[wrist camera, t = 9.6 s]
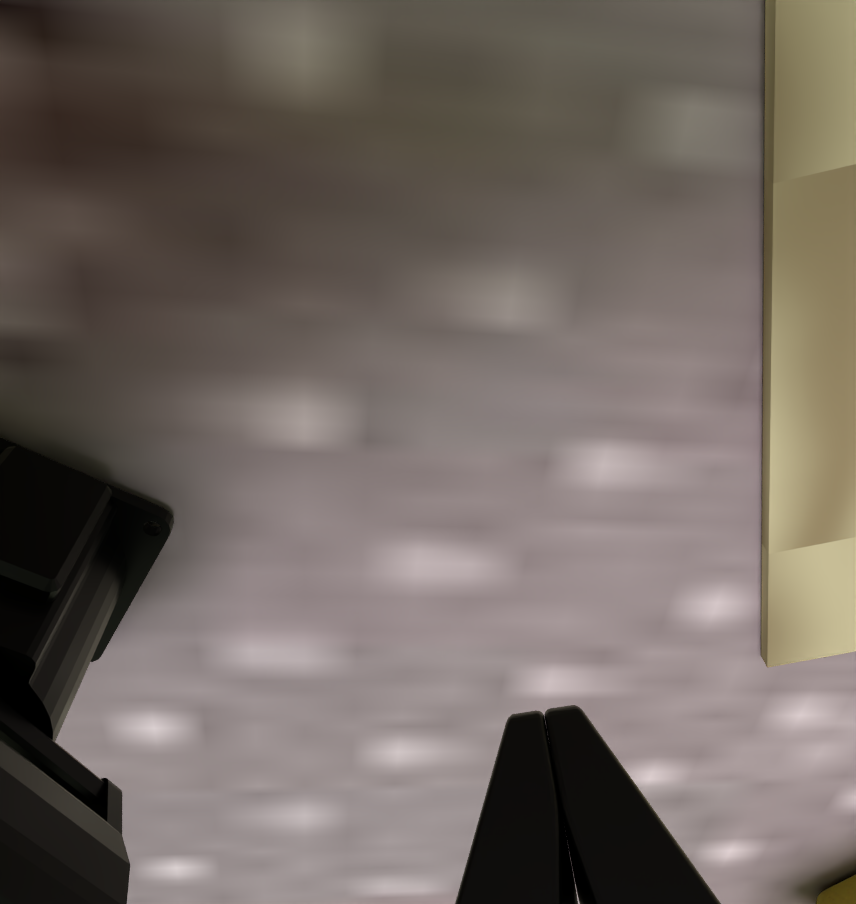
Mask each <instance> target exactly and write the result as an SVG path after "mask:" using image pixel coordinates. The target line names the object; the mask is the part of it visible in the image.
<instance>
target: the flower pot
mask: <svg viewBox="0 0 856 904" xmlns="http://www.w3.org/2000/svg"><path fill="white" fill-rule="evenodd" d="M816 904H856V875H854V876H852V877H850V878H848V879H846V880H844V881H842V882H840V883H838V884H836V885H834V886H832V887H830V888H828V889H826V890H824V891H823V892H821V893H820V894H819V895H818V897H817V901H816Z"/></svg>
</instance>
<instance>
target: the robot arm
mask: <svg viewBox="0 0 856 904" xmlns="http://www.w3.org/2000/svg"><path fill="white" fill-rule="evenodd" d="M150 521H152V522H156V523H157V524H159V525H160V527H153V526H151V525H150V524H148V522H150ZM173 524H174V520H173V516H172V515H171V514H170V513H169V511H167V510H165V509H164V508H162V507H160V506H157V505H155V504H153V503H150V502H148V501H146V500H144V499H141V498H139V497H137V496H134V495H132V494H130V493H127V492H125V491H123V490H120V489H118V488H116V487H114V486H111V485H109V484H107V483H104V482H102V481H100V480H97V479H95V478H93V477H90V476H88V475H86V474H84V473H81V472H79V471H77V470H74V469H72V468H70V467H67V466H65V465H63V464H60V463H58V462H56V461H53V460H51V459H49V458H47V457H44V456H42V455H40V454H37V453H35V452H33V451H30V450H28V449H26V448H23V447H21V446H19V445H17V444H14V443H12V442H10V441H7V440H5V439H3V438H0V904H127V893H128V882H129V871H130V862H129V859H128V855H127V852H126V848H125V845H124V841H123V837H122V791H121V790H120V789H119V788H118V787H117V786H115V785H114V784H113V783H112V782H111V781H109V780H108V779H107V778H102V779H100V778H99V777H97V776H96V775H95V774H94V773H92V772H91V771H90V770H89V769H88V768H86V767H85V766H84V765H83V764H81V763H80V762H79V761H78V760H77V759H75V758H74V757H73V756H72V755H70V754H69V753H68V752H67V751H65V750H64V749H63V748H62V747H61V746H59V745H58V744H57V743H56V742H55V741H56V738H57V736H58V734H59V732H60V729H61V727H62V725H63V722H64V720H65V718H66V716H67V713H68V711H69V709H70V707H71V704H72V702H73V700H74V698H75V695H76V693H77V691H78V689H79V686H80V684H81V682H82V679H83V677H84V675H85V673H86V670H87V668H88V666H89V664H90V662H93V661H96V660H98V659H99V658H100V657H101V655H102V654H103V652H104V650H105V648H106V647H107V645H108V643H109V641H110V639H111V638H112V636H113V634H114V632H115V631H116V629H117V627H118V625H119V624H120V622H121V620H122V618H123V616H124V615H125V613H126V611H127V609H128V608H129V606H130V604H131V602H132V601H133V599H134V597H135V595H136V594H137V592H138V590H139V588H140V586H141V585H142V583H143V581H144V579H145V578H146V576H147V574H148V572H149V571H150V569H151V567H152V565H153V564H154V562H155V560H156V558H157V556H158V555H159V553H160V551H161V549H162V548H163V546H164V544H165V542H166V541H167V539H168V537H169V535H170V533H171V530H172V528H173ZM545 721H546V723H545ZM546 727H547V729H546ZM547 733H548V734H547ZM548 738H549V739H548ZM550 749H551V750H550ZM565 831H566V832H565ZM566 836H567V837H566ZM567 842H568V843H567ZM568 847H569V848H568ZM569 852H570V854H569ZM570 858H571V859H570ZM571 863H572V865H571ZM572 868H573V870H572ZM573 873H574V876H573ZM574 879H575V881H574ZM575 884H576V887H575ZM576 888H577V893H578V898H579V903H580V904H721V903H720V902H719V900H718V899H717V898H716V896H715V895H714V893H713V892H712V891H711V889H710V888H709V886H708V885H707V884H706V882H705V881H704V879H703V878H702V877H701V875H700V874H699V872H698V871H697V870H696V868H695V867H694V865H693V864H692V863H691V861H690V860H689V858H688V857H687V856H686V854H685V853H684V851H683V850H682V849H681V847H680V846H679V845H678V843H677V842H676V840H675V839H674V838H673V836H672V835H671V833H670V832H669V831H668V829H667V828H666V826H665V825H664V824H663V822H662V821H661V819H660V818H659V817H658V815H657V814H656V812H655V811H654V810H653V808H652V807H651V805H650V804H649V803H648V801H647V800H646V798H645V797H644V796H643V794H642V793H641V791H640V790H639V789H638V787H637V786H636V784H635V783H634V782H633V780H632V779H631V777H630V776H629V775H628V773H627V772H626V770H625V769H624V768H623V766H622V765H621V763H620V762H619V761H618V759H617V758H616V756H615V755H614V754H613V752H612V751H611V750H610V748H609V747H608V745H607V744H606V743H605V741H604V740H603V738H602V737H601V736H600V734H599V733H598V731H597V730H596V729H595V727H594V726H593V724H592V723H591V722H590V720H589V719H588V717H587V716H586V715H585V713H584V712H583V711H582V709H580V708H579V707H578V706H575V705H571V706H564V707H558V708H551V709H548V710H547V711H546V712H545V718H544V715H543V713H542V712H540V711H531V712H525V713H518V714H513V715H511V716H510V717H509V718H508V720H507V722H506V725H505V729H504V732H503V736H502V739H501V743H500V746H499V750H498V754H497V757H496V761H495V764H494V768H493V771H492V775H491V778H490V782H489V786H488V789H487V793H486V796H485V800H484V803H483V807H482V810H481V814H480V818H479V821H478V825H477V828H476V832H475V835H474V839H473V842H472V846H471V850H470V853H469V857H468V860H467V864H466V867H465V871H464V874H463V878H462V882H461V885H460V889H459V892H458V896H457V899H456V903H455V904H578V901H577V894H576Z"/></svg>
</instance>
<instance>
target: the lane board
mask: <svg viewBox="0 0 856 904" xmlns="http://www.w3.org/2000/svg"><path fill="white" fill-rule="evenodd" d="M855 651H856V0H765V141H764V297H763V454H762V611H761V657H762V659H763V660H764V662H765V664H766V666H767V667H773V666H778V665H783V664H789V663H794V662H800V661H805V660H811V659H816V658H822V657H827V656H833V655H838V654H844V653H849V652H855Z"/></svg>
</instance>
